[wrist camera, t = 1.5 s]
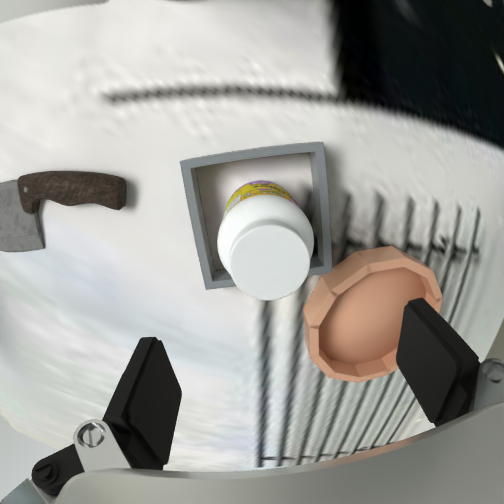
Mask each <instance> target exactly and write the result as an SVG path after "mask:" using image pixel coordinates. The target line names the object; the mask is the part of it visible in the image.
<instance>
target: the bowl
mask: <svg viewBox="0 0 504 504" xmlns="http://www.w3.org/2000/svg"><path fill="white" fill-rule="evenodd" d="M417 298H424V299H425V300H426V301H427V302H428V303H429V304H430V305H431V306H432V307H433V308H434V309H435V310H436V311H437V312H438V313H439V314H440V309H441V304H442V299H443V297H442V294H441V291H440V288H439V285H438V283H437V280H436V277H435V275H434V272H433V271H432V270H431V269H430V268H429V267H427V266H426V265H425V264H424V263H422V262H421V261H420V260H419V259H417V258H415V257H413V256H411V255H409V254H407V253H405V252H403V251H401V250H399V249H397V248H395V247H393V246H387V247H380V248H373V249H367V250H360V251H355V252H354V253H352V254H351V255H350V256H348V257H347V258H346V259H344V260H343V261H341V262H340V263H339V264H337V265H336V266H334V267H333V268H332V273H325V274H323V275H322V276H321V278H320V280H319V282H318V283H317V285H316V287H315V289H314V291H313V293H312V294H311V296H310V298H309V300H308V302H307V303H306V305H305V307H304V309H303V312H304V331H305V342H306V345H307V349H308V353H309V356H310V359H311V360H312V361H313V362H314V363H315V364H316V365H317V366H318V367H319V368H320V369H321V370H322V371H323V372H324V373H325V374H326V375H327V376H328V377H329V378H334V379H339V380H344V381H350V382H356V383H358V382H362V381H366V380H370V379H374V378H378V377H382V376H385V375H389V374H390V373H392V372H393V371H395V370H396V369H398V368H399V367H398V366H397V363H396V353H397V348H398V343H399V337H400V331H401V325H402V318H403V311H404V306H405V305H407V303H408V301H409V300H413V299H417Z"/></svg>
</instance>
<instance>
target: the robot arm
mask: <svg viewBox="0 0 504 504" xmlns="http://www.w3.org/2000/svg"><path fill="white" fill-rule="evenodd" d="M478 359H479V357H478V356H477V355H476V354H475V352H474V351H473V350H472V349H471V348H470V347H469V346H468V345H467V343H466V342H465V341H464V340H463V339H462V338H461V337H460V336H459V335H458V334H457V332H456V331H455V330H454V329H453V328H452V327H451V326H450V325H449V324H448V323H447V322H446V321H445V320H444V319H443V318H442V317H441V316H440V315H439V313H438V312H437V311H436V310H435V309H434V308H433V307H432V306H431V305H430V304H429V303H428V302H427V301H426V300H425V299H424V298H417V299H413V300H409V301H408V303H407V305H405V306H404V311H403V318H402V325H401V331H400V337H399V343H398V348H397V353H396V363H397V366H398V367H399V369H400V371H401V372H402V374H403V376H404V377H405V379H406V381H407V383H408V384H409V386H410V388H411V389H412V391H413V393H414V395H415V396H416V398H417V400H418V402H419V404H420V405H421V407H422V409H423V411H424V413H425V414H426V416H427V418H428V420H429V421H430V422H431V423H434V424H435V426H436V427H435V428H433V429H430V430H428V431H425V432H423V433H420V434H418V435H415V436H412V437H410V438H407V439H404V440H401V441H398V442H395V443H392V444H389V445H386V446H383V447H379V448H376V449H372V450H369V451H365V452H361V453H357V454H354V455H349V456H345V457H341V458H336V459H332V460H327V461H322V462H316V463H311V464H305V465H298V466H291V467H284V468H275V469H265V470H253V471H236V472H182V471H164V470H163V466H164V465H166V464H167V463H168V460H169V455H170V450H171V445H172V440H173V435H174V430H175V425H176V421H177V416H178V411H179V407H180V402H181V397H182V391H181V388H180V385H179V383H178V381H177V378H176V376H175V373H174V371H173V368H172V366H171V363H170V361H169V358H168V356H167V353H166V351H165V348H164V345H163V343H162V341H161V340H158V339H157V338H156V337H142V338H141V339H140V340H139V342H138V344H137V346H136V349H135V351H134V353H133V355H132V357H131V359H130V361H129V363H128V365H127V368H126V370H125V372H124V373H123V374H122V377H121V379H120V381H119V383H118V385H117V387H116V390H115V392H114V394H113V396H112V399H111V401H110V403H109V405H108V408H107V410H106V412H105V415H104V417H103V419H102V420H97V419H93V420H88V421H85V422H84V423H82V424H81V425H80V426H79V427H78V428H77V429H76V431H75V432H74V437H73V439H74V444H72V445H70V446H68V447H66V448H64V449H62V450H60V451H58V452H56V453H54V454H52V455H50V456H48V457H46V458H44V459H41V460H40V461H39V462H37V463H36V464H35V465H34V468H33V470H32V479H31V480H29V479H28V478H27V479H26V480H25V481H23V482H22V483H21V484H20V485H19V486H18V487H16V488H15V489H14V490H13V491H12V492H11V493H9V494H8V495H7V496H6V497H5V498H4V499H2V501H1V502H0V504H504V361H502V360H500V359H495V358H490V359H486V360H485V361H483V362H482V363H480V362H479V361H478Z"/></svg>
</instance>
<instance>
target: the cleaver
mask: <svg viewBox="0 0 504 504" xmlns="http://www.w3.org/2000/svg"><path fill="white" fill-rule="evenodd" d="M41 199H49V200H52V201H55V202H57V203H59V204H62V205H66V206H74V205H79V204H84V203H95V204H99V205H102V206H105V207H108V208H111V209H115V210H120V209H121V208H122V207H123V206H124V205H125V200H126V183H125V181H124V180H123V178H120V177H117V176H113V175H108V174H102V173H93V172H79V171H47V172H38V173H32V174H27V175H23V176H21V177H19V178H18V179H17V180H12V181H7V182H3V183H0V251H4V252H24V251H31V250H38V249H43V248H44V246H43V239H42V232H41V227H40V222H39V217H38V212H37V211H38V210H39V204H40V200H41Z"/></svg>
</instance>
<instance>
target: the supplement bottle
mask: <svg viewBox="0 0 504 504" xmlns="http://www.w3.org/2000/svg"><path fill="white" fill-rule="evenodd" d="M217 246H218V253H219V256H220V259H221V262H222V263H223V265H224V267H225V269H226V270H227V271H228V272H229V274H230V275H231V277H232V279H233V281H234V282H235V284H236V285H237V287H238V288H239V289H240V290H241V291H243V292H244V293H245V294H247V295H249V296H251V297H253V298H256V299H260V300H276V299H281V298H284V297H286V296H288V295H290V294H292V293H293V292H295V291H296V290H297V289H298V288H299V287H300V286H301V285H302V284H303V282H304V281H305V279H306V277H307V275H308V272H309V268H310V259H311V256H312V253H313V247H314V236H313V231H312V227H311V225H310V223H309V220H308V219H307V217H306V216H305V214H304V213H303V212H302V210H301V209H300V208H299V207H298V205H297V204H296V203H295V202H294V200H293V199H292V198H291V196H290V195H289V194H288V193H287V192H286V191H285V190H284V189H283V188H282V187H280V186H279V185H277V184H275V183H272V182H268V181H253V182H249V183H247V184H244V185H243V186H241V187H240V188H238V189H237V190H236V191H235V192H234V193H233V195H232V196H231V198H230V199H229V201H228V204H227V206H226V209H225V212H224V216H223V219H222V222H221V225H220V228H219V233H218V239H217Z"/></svg>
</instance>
